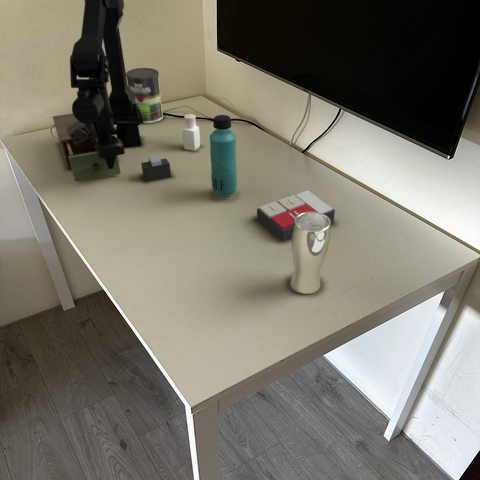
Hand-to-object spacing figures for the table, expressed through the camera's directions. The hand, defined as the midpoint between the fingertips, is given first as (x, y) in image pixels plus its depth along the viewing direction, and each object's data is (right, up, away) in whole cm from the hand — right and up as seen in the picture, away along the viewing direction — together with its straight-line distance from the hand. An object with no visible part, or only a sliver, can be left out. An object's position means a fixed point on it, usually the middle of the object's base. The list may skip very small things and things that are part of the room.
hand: (110, 168), depth 125 cm
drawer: (-7, +3, +8) cm, 11 cm away
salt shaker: (+20, +12, +18) cm, 29 cm away
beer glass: (+47, -33, -29) cm, 65 cm away
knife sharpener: (+11, -1, +5) cm, 12 cm away
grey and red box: (+47, -17, -12) cm, 52 cm away
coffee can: (+3, +28, +35) cm, 45 cm away
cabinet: (-11, +10, +16) cm, 22 cm away
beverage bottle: (+30, -8, -3) cm, 31 cm away
